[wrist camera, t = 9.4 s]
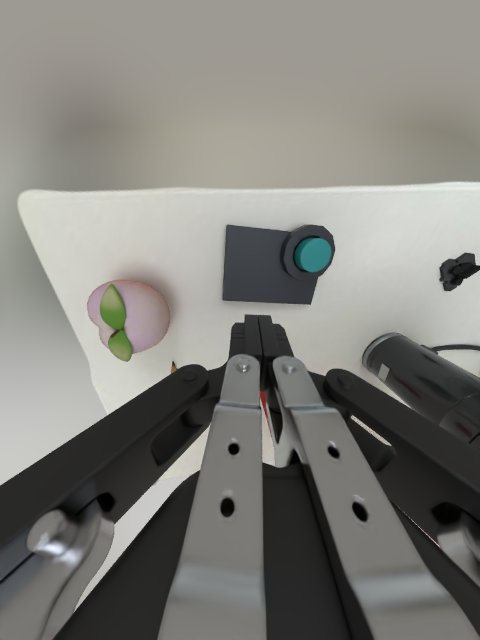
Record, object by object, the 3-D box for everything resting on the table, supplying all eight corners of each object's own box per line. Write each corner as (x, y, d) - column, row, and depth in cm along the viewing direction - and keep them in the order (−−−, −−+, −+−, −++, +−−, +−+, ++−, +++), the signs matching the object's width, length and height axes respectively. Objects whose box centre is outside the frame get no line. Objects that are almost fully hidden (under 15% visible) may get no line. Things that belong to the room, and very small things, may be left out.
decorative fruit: (182, 326, 30) (168, 367, 21) (130, 333, 29) (92, 378, 20) (167, 267, 25) (141, 285, 17) (105, 274, 25) (44, 296, 16)
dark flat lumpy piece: (491, 276, 30) (458, 297, 31) (473, 273, 32) (442, 293, 33) (489, 245, 28) (453, 269, 29) (469, 244, 30) (436, 267, 31)
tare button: (326, 239, 24) (335, 240, 22) (318, 270, 26) (326, 273, 24) (297, 236, 23) (304, 236, 22) (291, 268, 25) (297, 271, 23)
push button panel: (328, 228, 26) (341, 228, 23) (309, 301, 31) (318, 308, 28) (226, 217, 24) (228, 215, 21) (222, 297, 28) (223, 304, 26)
